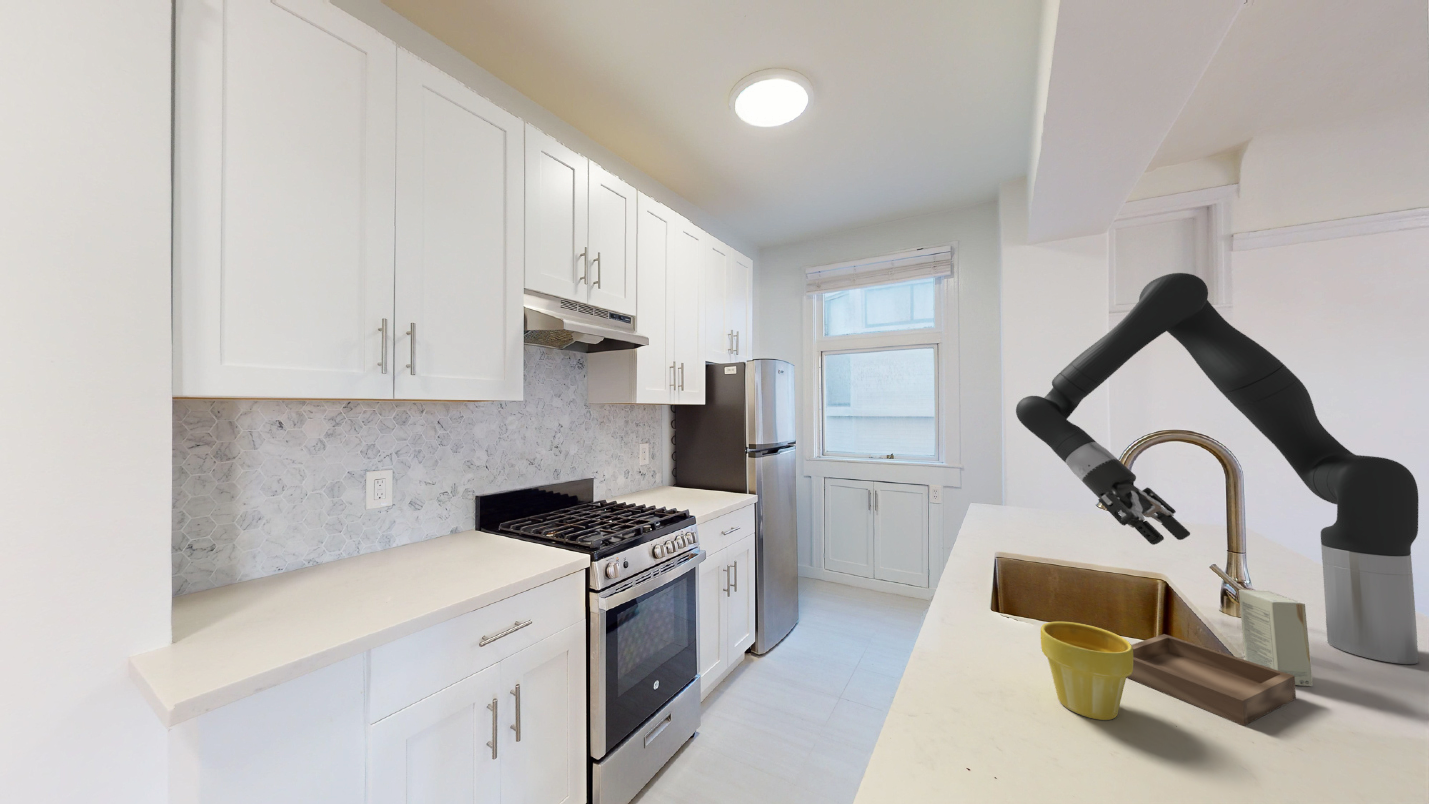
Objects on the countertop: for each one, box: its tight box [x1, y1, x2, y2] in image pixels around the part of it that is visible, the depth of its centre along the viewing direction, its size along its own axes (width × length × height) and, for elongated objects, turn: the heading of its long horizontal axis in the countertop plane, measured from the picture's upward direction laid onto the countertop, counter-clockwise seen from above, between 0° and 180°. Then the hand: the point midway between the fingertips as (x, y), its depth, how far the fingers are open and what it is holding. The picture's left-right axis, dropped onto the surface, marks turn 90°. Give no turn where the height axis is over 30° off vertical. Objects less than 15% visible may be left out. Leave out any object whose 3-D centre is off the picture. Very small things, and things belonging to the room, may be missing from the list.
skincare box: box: [1238, 589, 1313, 687], centre depth 76 cm, size 6×4×12 cm
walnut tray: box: [1126, 633, 1297, 727], centre depth 73 cm, size 15×15×3 cm
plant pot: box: [1040, 621, 1133, 721], centre depth 68 cm, size 10×10×10 cm
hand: (1172, 539), depth 87 cm, fingers open, 8 cm apart
